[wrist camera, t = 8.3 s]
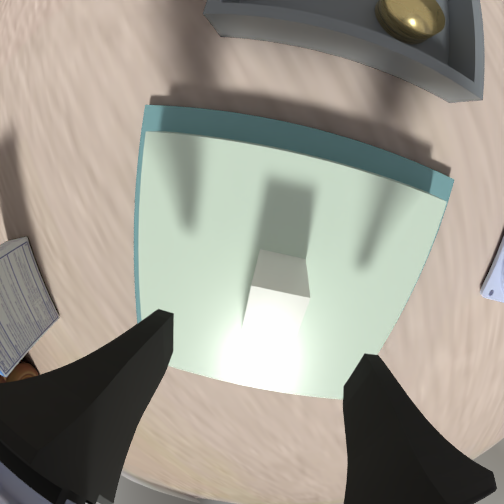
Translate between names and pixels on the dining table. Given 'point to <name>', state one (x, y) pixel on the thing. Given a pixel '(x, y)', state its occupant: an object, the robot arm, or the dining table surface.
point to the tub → (367, 39)
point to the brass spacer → (410, 19)
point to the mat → (284, 138)
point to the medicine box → (21, 303)
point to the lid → (275, 259)
